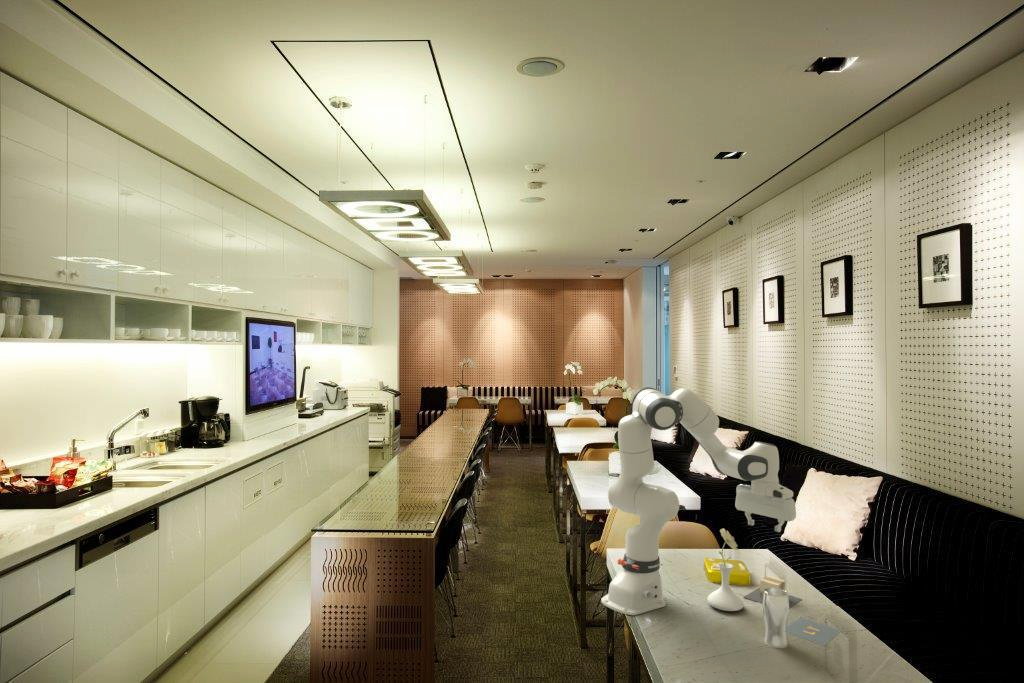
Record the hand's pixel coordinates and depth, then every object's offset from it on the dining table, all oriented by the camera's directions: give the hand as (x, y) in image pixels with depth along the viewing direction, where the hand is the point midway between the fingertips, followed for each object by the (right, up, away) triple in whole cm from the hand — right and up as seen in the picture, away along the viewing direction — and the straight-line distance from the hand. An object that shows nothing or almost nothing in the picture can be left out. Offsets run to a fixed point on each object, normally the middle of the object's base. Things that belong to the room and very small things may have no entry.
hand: (764, 528), depth 201 cm
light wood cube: (+1, -23, -3) cm, 23 cm away
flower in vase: (-17, -23, -9) cm, 30 cm away
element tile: (-7, -24, +16) cm, 30 cm away
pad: (+1, -23, -3) cm, 24 cm away
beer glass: (-12, -23, -34) cm, 42 cm away
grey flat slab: (+3, -23, -26) cm, 35 cm away
